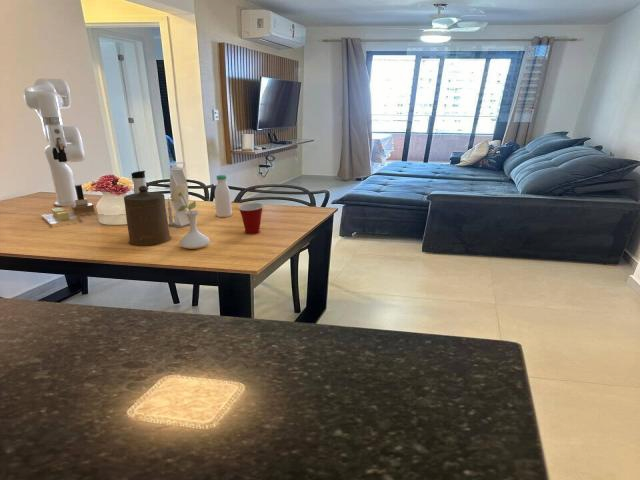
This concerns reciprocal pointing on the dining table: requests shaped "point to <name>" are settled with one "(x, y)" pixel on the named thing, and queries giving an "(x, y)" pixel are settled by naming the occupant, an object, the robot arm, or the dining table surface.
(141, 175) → the travel mug
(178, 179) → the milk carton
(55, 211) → the butter
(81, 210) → the knife block
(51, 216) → the board
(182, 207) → the flower in vase
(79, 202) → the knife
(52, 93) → the robot arm
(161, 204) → the wooden container
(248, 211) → the plastic cup
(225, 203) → the milk bottle
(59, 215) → the butter slice
